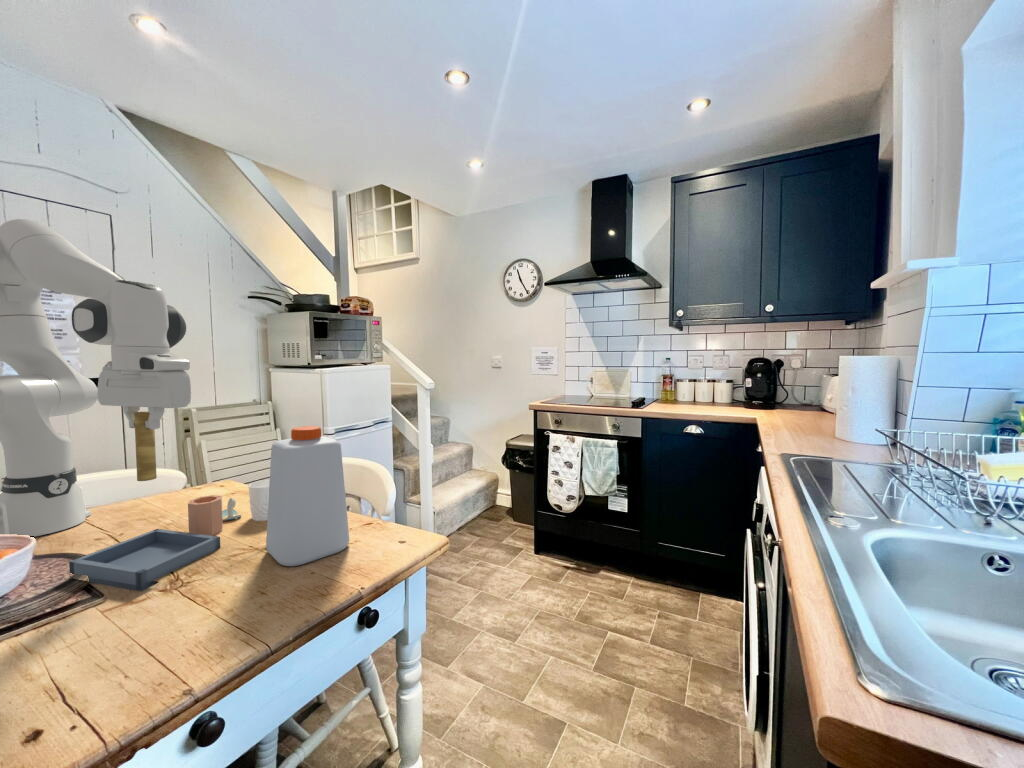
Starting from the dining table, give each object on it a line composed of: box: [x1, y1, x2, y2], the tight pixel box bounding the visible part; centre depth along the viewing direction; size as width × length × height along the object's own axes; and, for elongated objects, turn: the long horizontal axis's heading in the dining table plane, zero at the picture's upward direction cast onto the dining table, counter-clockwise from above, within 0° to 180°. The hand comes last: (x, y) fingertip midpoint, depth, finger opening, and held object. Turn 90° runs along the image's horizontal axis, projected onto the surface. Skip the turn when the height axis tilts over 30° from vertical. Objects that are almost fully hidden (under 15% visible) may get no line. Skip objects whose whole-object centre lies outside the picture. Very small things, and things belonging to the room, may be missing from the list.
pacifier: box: [222, 497, 242, 522], centre depth 107 cm, size 7×6×6 cm
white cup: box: [248, 478, 270, 522], centre depth 109 cm, size 8×8×10 cm
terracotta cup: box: [187, 494, 224, 536], centre depth 99 cm, size 6×6×9 cm
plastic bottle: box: [265, 425, 350, 567], centre depth 92 cm, size 15×15×28 cm
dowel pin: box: [134, 410, 157, 482], centre depth 83 cm, size 3×3×14 cm
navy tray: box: [68, 528, 221, 592], centre depth 85 cm, size 18×16×4 cm
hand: (144, 428), depth 83 cm, fingers closed on dowel pin, 3 cm apart
